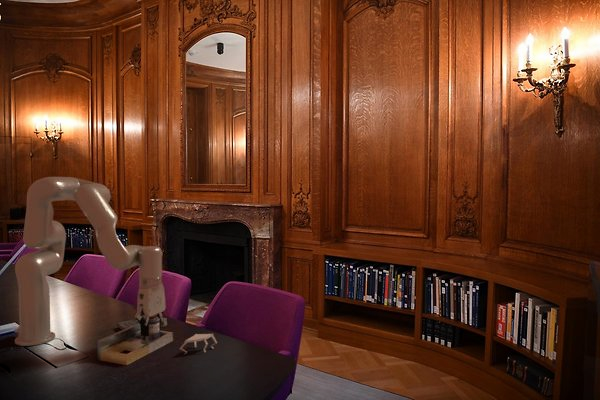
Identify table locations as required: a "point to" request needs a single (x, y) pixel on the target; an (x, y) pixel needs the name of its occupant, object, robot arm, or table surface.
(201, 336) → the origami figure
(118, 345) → the two-compartment cubby organizer
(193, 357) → the table surface
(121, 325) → the graphics card
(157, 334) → the pill bottle
